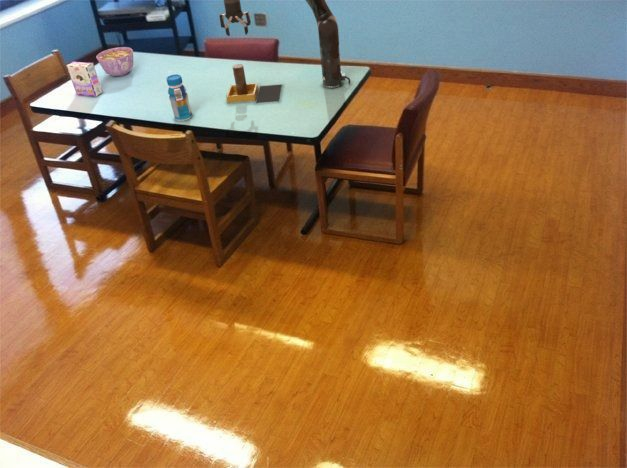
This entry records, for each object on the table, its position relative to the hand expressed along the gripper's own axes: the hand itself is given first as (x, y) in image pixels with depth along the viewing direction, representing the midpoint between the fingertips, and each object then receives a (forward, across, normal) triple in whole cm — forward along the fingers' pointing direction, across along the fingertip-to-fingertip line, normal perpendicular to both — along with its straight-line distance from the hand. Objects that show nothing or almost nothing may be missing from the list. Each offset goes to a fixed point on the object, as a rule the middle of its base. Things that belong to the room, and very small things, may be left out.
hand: (237, 34), depth 289 cm
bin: (+26, 0, -13) cm, 29 cm away
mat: (+26, +13, -13) cm, 32 cm away
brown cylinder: (+26, 0, -13) cm, 29 cm away
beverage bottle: (+26, -26, -32) cm, 49 cm away
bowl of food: (+26, -76, +32) cm, 87 cm away
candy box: (+26, -85, +6) cm, 89 cm away
